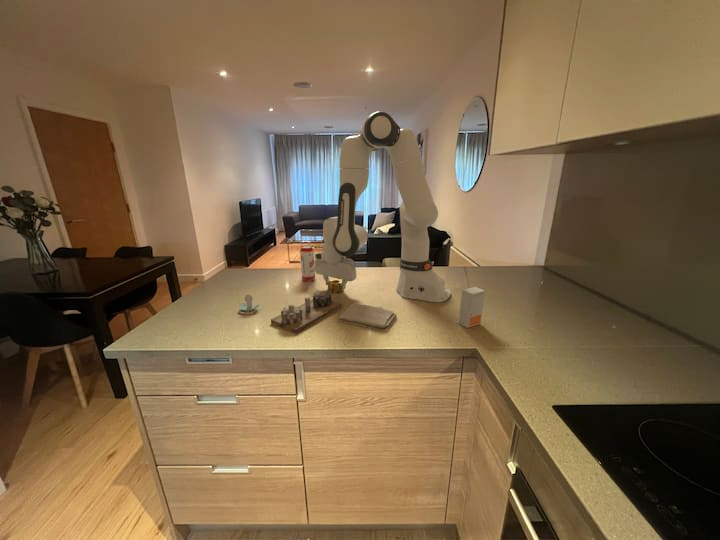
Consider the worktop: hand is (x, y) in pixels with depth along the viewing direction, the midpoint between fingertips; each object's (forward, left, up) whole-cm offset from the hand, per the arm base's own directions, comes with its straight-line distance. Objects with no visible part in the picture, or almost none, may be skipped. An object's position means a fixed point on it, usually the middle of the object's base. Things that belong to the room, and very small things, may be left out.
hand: (335, 286), depth 125 cm
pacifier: (+14, +34, -2) cm, 37 cm away
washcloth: (-26, +15, -2) cm, 30 cm away
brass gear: (0, 0, -2) cm, 2 cm away
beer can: (+20, -4, -2) cm, 21 cm away
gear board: (-7, +24, -2) cm, 25 cm away
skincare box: (-56, -1, -2) cm, 56 cm away
